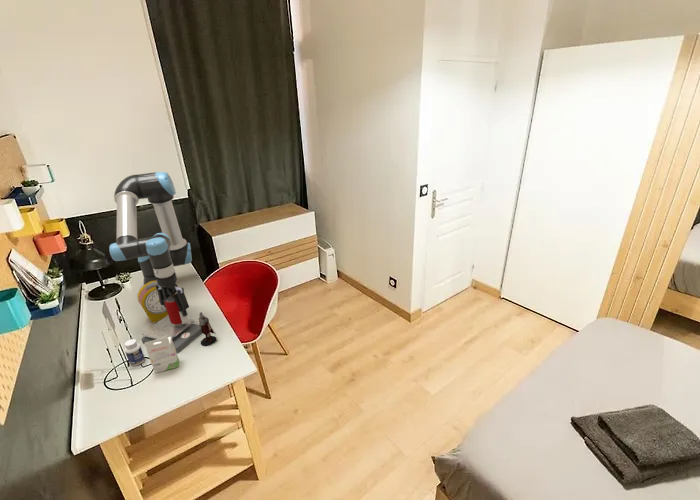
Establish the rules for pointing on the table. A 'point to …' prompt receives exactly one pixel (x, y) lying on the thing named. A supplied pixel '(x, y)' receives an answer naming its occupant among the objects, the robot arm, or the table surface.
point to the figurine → (206, 331)
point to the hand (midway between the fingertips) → (179, 320)
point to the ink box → (162, 354)
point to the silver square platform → (166, 329)
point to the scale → (181, 337)
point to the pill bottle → (134, 352)
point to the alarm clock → (151, 302)
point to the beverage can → (173, 311)
